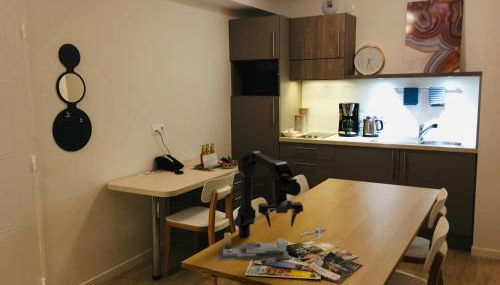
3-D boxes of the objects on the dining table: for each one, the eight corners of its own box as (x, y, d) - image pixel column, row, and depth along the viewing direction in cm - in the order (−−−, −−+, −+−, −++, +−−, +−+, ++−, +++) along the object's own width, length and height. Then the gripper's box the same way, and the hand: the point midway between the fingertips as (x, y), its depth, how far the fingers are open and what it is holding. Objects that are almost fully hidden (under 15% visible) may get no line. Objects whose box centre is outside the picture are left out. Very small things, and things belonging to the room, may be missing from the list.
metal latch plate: (245, 246, 181) (245, 239, 181) (283, 244, 182) (283, 237, 182) (246, 253, 173) (246, 246, 173) (286, 251, 174) (286, 244, 174)
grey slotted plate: (223, 251, 181) (223, 246, 181) (281, 248, 182) (281, 244, 182) (223, 258, 173) (223, 253, 173) (284, 255, 174) (284, 251, 174)
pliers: (298, 233, 199) (313, 225, 211) (298, 236, 199) (314, 228, 211) (316, 238, 193) (331, 229, 205) (316, 241, 193) (331, 232, 205)
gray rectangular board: (219, 247, 187) (219, 246, 187) (284, 245, 188) (284, 243, 188) (218, 262, 171) (218, 260, 171) (289, 259, 173) (289, 257, 172)
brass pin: (224, 247, 186) (224, 232, 185) (231, 247, 186) (230, 232, 185) (224, 249, 183) (224, 234, 182) (231, 249, 183) (230, 234, 182)
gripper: (258, 197, 165) (259, 234, 167) (304, 195, 165) (305, 232, 167) (257, 190, 176) (258, 225, 178) (301, 188, 176) (301, 224, 178)
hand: (280, 227), depth 175 cm, fingers open, 9 cm apart
